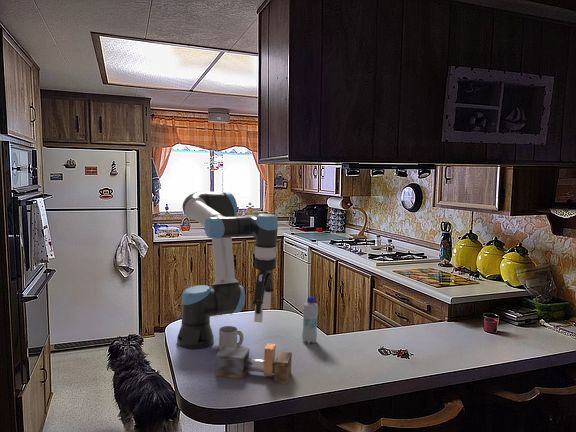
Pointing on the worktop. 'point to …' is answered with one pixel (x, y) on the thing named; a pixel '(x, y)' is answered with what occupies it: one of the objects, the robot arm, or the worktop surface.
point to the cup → (229, 337)
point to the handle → (262, 362)
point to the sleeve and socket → (233, 364)
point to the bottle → (310, 320)
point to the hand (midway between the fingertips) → (262, 315)
